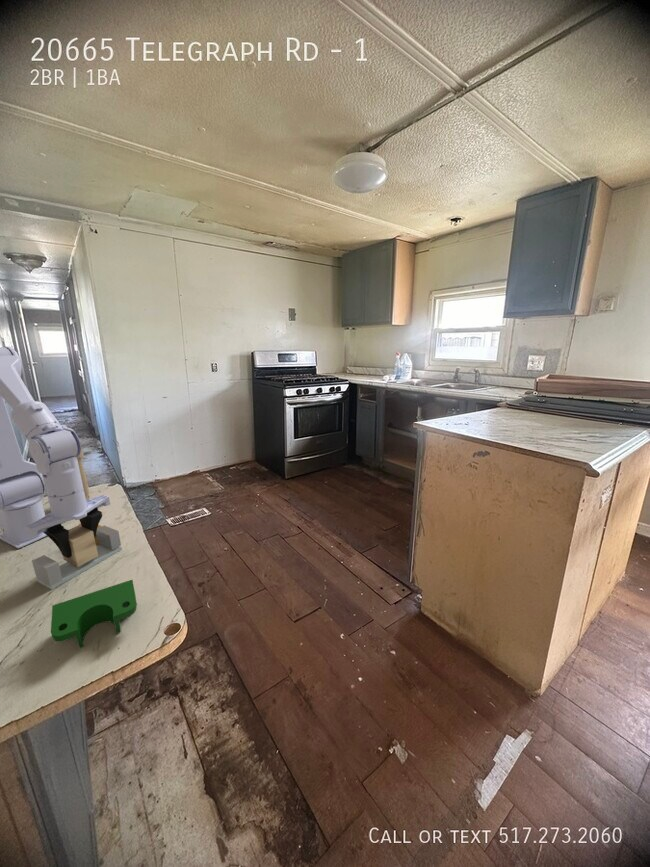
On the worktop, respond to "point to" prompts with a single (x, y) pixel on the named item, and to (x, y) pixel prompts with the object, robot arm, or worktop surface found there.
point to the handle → (83, 475)
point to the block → (81, 546)
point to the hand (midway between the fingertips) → (79, 549)
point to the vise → (65, 568)
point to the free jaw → (107, 537)
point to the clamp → (92, 611)
